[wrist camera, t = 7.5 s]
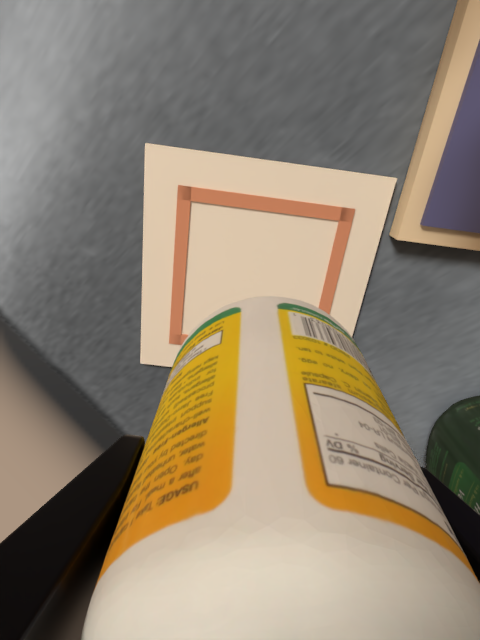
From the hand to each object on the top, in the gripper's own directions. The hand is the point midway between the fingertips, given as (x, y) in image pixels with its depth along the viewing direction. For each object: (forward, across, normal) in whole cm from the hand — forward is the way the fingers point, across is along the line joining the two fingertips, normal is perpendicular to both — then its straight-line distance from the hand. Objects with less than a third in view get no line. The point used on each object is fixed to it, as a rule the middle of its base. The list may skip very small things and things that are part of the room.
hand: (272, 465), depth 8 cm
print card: (+12, 0, 0) cm, 12 cm away
